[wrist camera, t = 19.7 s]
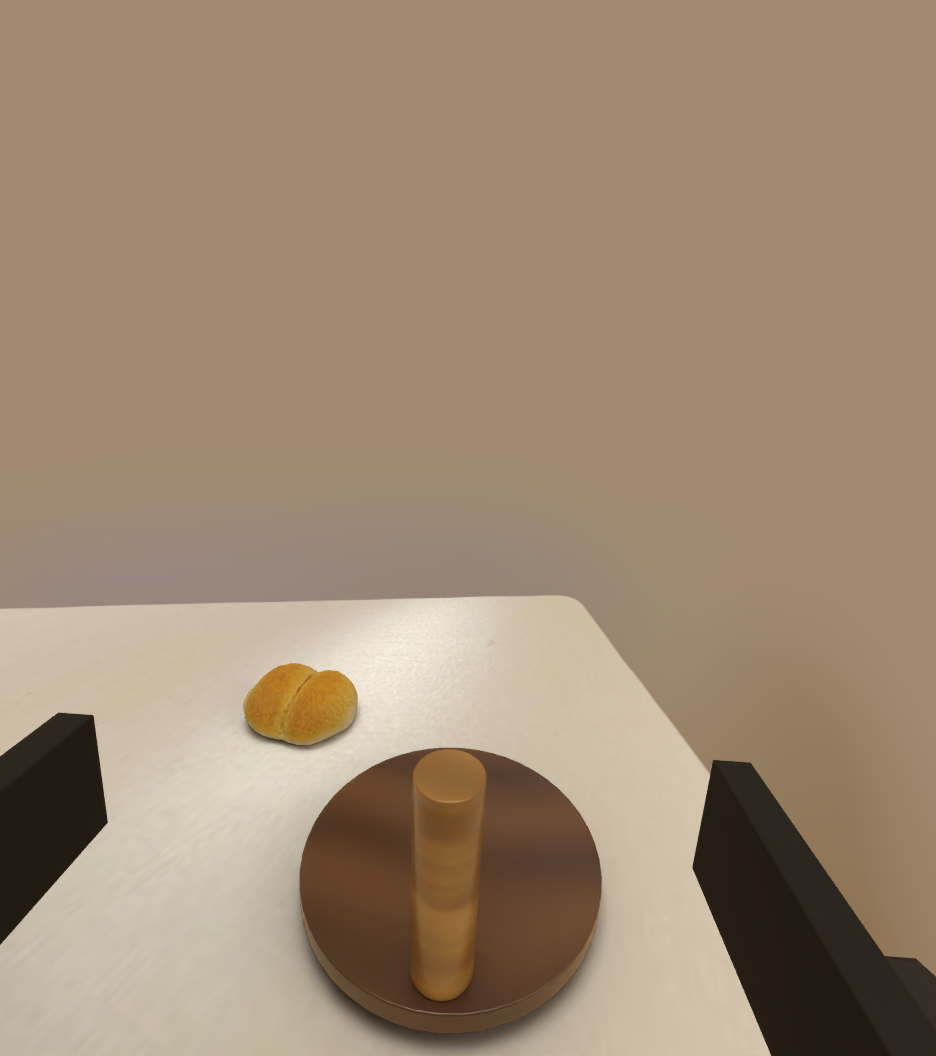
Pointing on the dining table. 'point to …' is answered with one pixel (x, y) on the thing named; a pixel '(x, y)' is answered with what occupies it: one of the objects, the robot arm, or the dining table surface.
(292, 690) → the bread roll
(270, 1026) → the dining table surface
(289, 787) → the dining table surface
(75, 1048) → the dining table surface
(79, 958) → the dining table surface
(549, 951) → the turntable
